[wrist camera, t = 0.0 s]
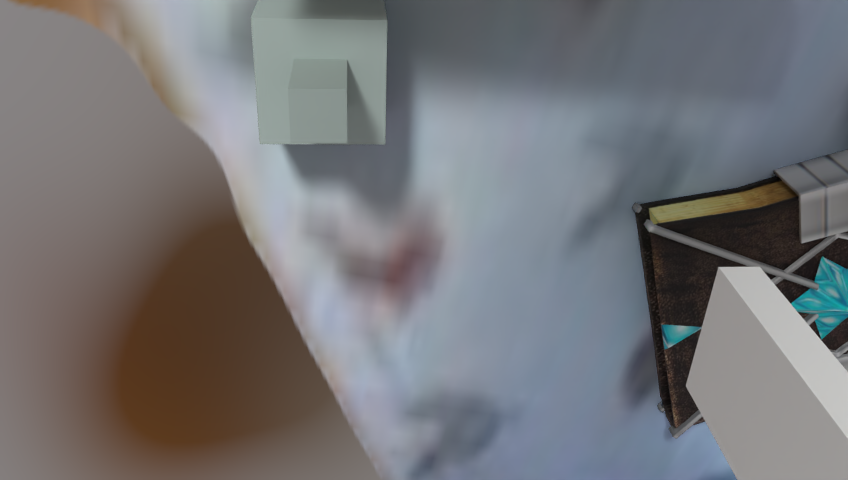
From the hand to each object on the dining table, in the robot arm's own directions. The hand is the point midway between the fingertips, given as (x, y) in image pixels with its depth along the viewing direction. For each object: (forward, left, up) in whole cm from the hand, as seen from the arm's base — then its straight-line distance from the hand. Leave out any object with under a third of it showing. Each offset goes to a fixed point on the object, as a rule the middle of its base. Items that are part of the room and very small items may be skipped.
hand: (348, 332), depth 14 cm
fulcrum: (+4, -1, -28) cm, 28 cm away
